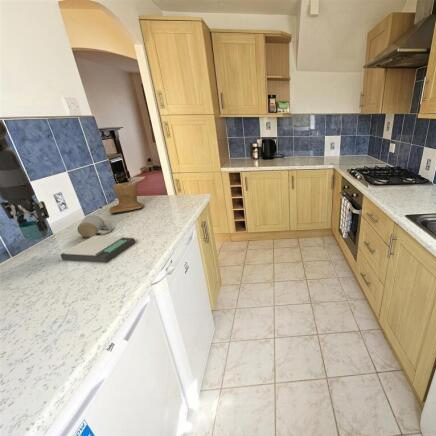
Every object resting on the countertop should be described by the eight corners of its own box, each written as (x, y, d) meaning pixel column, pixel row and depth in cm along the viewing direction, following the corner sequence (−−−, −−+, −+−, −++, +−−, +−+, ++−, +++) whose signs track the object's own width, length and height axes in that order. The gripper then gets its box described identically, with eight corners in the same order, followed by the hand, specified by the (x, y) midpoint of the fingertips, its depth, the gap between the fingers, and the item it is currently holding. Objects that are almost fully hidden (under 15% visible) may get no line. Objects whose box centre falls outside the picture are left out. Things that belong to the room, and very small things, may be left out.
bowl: (18, 240, 81) (12, 226, 80) (39, 232, 87) (33, 219, 85) (35, 241, 81) (29, 227, 79) (55, 233, 87) (49, 220, 85)
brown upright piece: (144, 204, 142) (136, 178, 136) (143, 210, 132) (135, 183, 126) (113, 209, 135) (104, 182, 129) (110, 216, 126) (100, 188, 120)
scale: (62, 260, 87) (59, 252, 86) (96, 241, 100) (93, 234, 99) (107, 262, 85) (104, 255, 84) (135, 243, 98) (133, 236, 97)
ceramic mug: (79, 239, 102) (72, 223, 99) (87, 231, 109) (81, 215, 106) (108, 235, 105) (103, 219, 102) (114, 228, 112) (109, 212, 109)
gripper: (-22, 185, 74) (4, 234, 81) (18, 186, 72) (41, 236, 79) (7, 179, 81) (29, 225, 88) (44, 180, 79) (64, 226, 86)
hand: (35, 230), depth 83 cm, fingers closed on bowl, 6 cm apart
